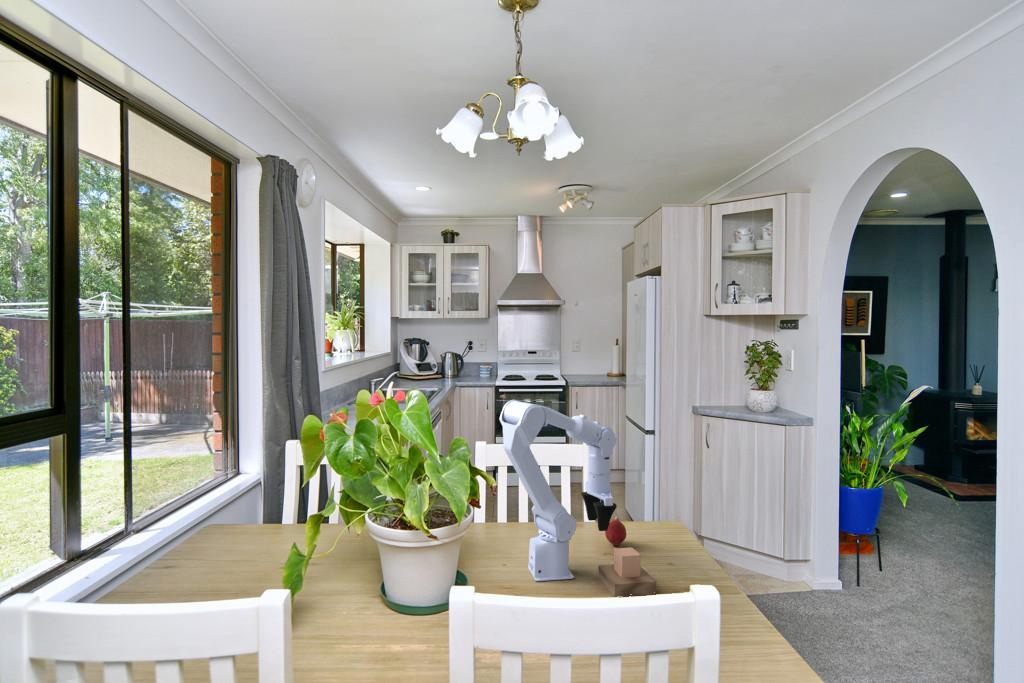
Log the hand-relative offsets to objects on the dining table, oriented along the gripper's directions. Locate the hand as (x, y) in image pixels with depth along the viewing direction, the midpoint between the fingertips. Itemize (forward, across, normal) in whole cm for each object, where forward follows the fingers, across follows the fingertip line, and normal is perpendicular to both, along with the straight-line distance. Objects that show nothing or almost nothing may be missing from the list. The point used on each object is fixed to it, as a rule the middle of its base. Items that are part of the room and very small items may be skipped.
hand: (597, 525), depth 140 cm
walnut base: (+9, -14, -2) cm, 17 cm away
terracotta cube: (+6, -14, -2) cm, 16 cm away
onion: (+10, +9, -9) cm, 16 cm away
